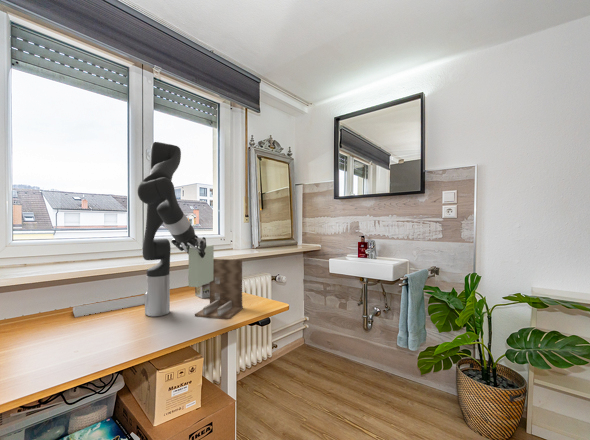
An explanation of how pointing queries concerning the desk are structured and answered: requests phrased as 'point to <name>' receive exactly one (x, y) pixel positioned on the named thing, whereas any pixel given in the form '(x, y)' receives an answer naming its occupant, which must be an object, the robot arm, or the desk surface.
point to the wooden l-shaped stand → (224, 290)
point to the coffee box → (203, 291)
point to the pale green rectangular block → (200, 267)
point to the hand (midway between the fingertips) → (198, 255)
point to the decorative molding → (108, 306)
